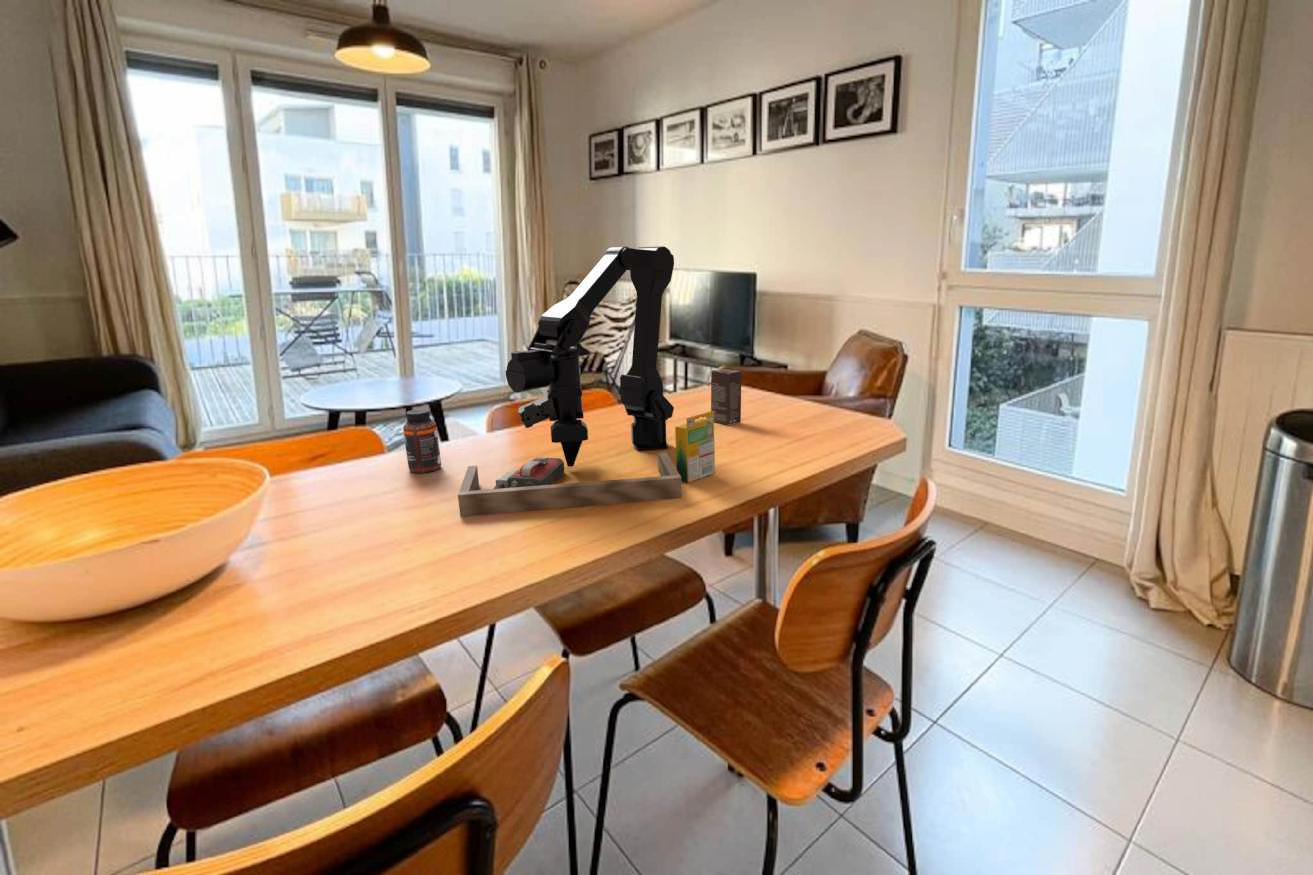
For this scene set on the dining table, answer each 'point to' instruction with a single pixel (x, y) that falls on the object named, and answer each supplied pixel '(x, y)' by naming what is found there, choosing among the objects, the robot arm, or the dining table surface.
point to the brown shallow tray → (569, 492)
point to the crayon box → (695, 447)
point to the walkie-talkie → (533, 474)
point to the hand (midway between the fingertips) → (570, 466)
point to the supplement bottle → (421, 442)
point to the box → (726, 396)
